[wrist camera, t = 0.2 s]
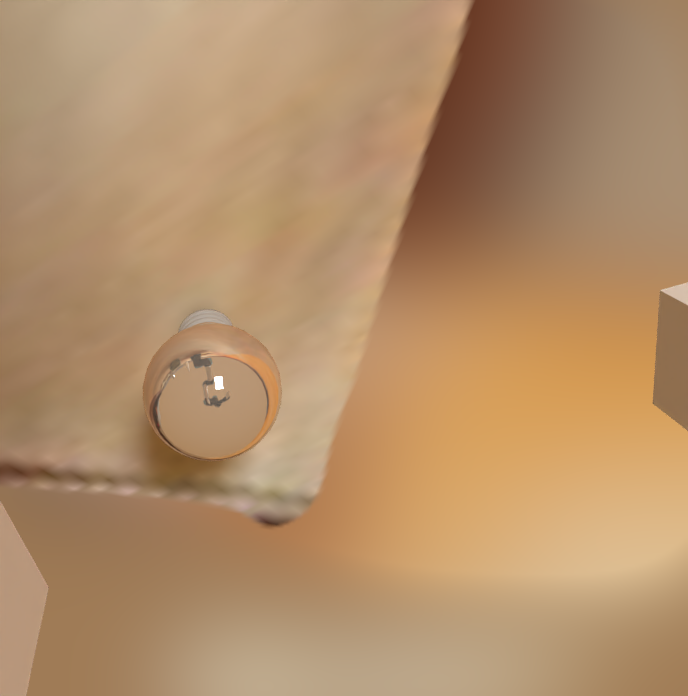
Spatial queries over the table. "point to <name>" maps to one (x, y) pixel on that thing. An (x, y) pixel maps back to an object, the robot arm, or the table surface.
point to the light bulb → (212, 389)
